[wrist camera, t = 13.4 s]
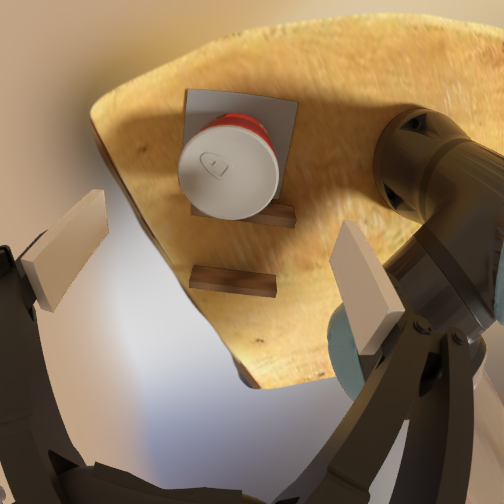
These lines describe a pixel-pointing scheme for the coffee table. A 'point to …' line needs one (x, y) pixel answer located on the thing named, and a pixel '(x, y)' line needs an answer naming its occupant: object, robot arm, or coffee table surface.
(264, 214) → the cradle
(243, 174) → the canned food
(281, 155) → the mat
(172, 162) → the coffee table surface
